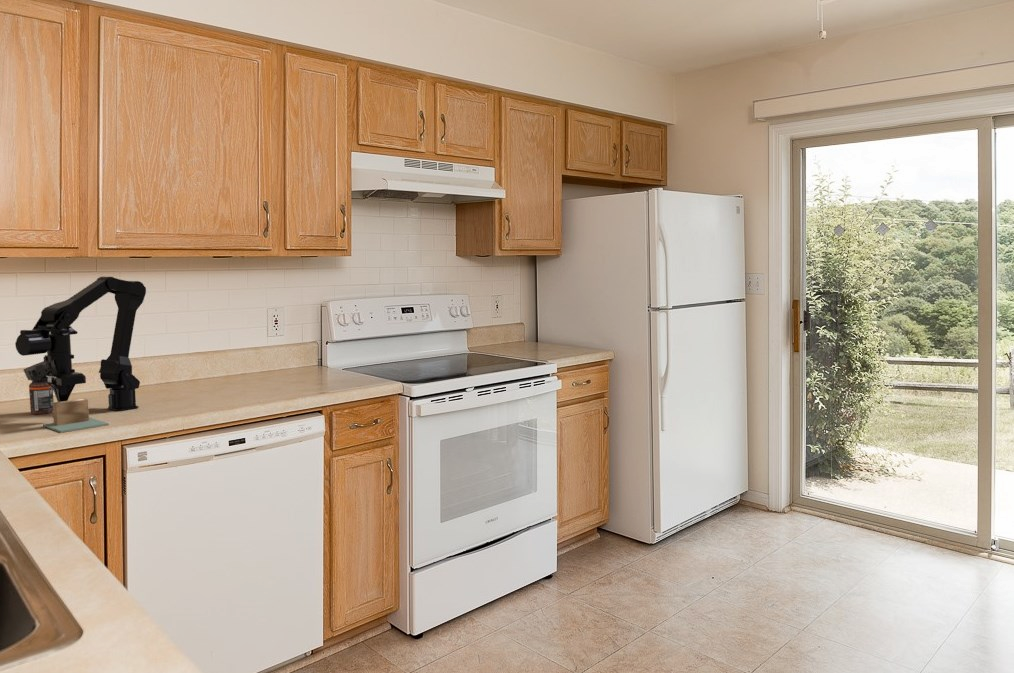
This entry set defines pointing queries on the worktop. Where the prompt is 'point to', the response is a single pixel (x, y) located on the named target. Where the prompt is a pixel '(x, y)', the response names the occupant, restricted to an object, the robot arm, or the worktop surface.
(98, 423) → the mat
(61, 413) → the slab
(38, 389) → the supplement bottle
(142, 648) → the worktop surface
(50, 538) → the worktop surface
